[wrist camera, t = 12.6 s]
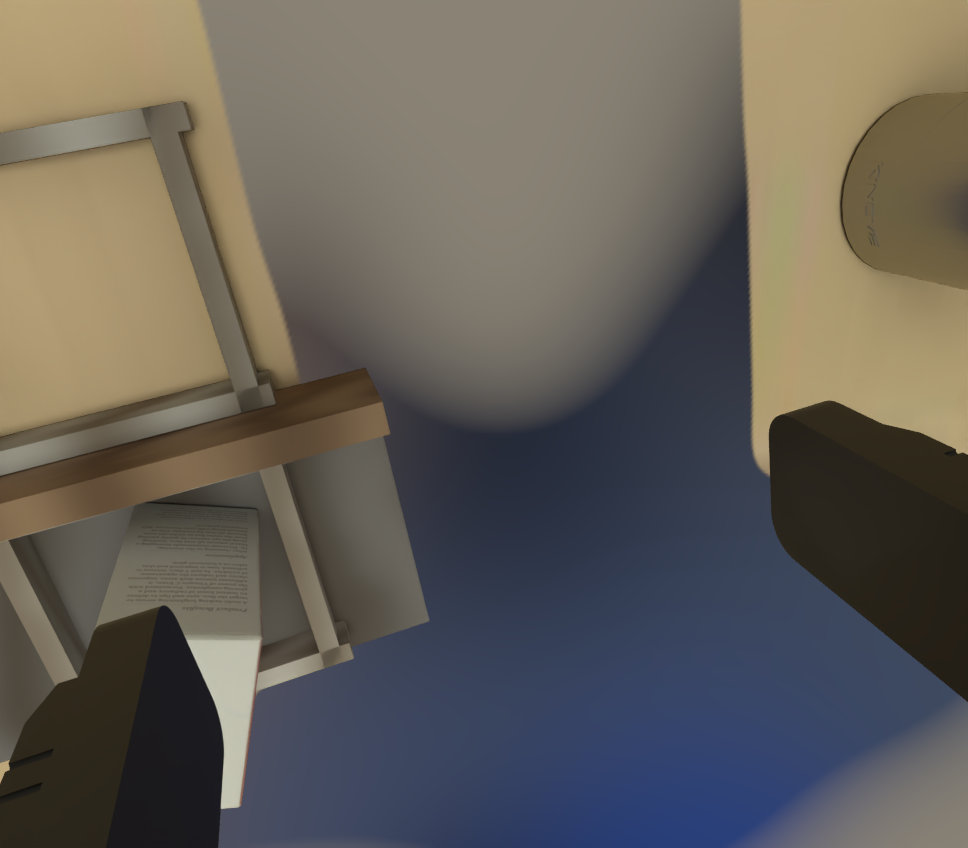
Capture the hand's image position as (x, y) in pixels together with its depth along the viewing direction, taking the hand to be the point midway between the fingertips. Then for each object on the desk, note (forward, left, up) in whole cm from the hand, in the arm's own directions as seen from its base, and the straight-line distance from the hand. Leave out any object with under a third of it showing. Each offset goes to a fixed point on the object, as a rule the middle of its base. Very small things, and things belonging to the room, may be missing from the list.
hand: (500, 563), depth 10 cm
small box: (+10, +13, -26) cm, 31 cm away
